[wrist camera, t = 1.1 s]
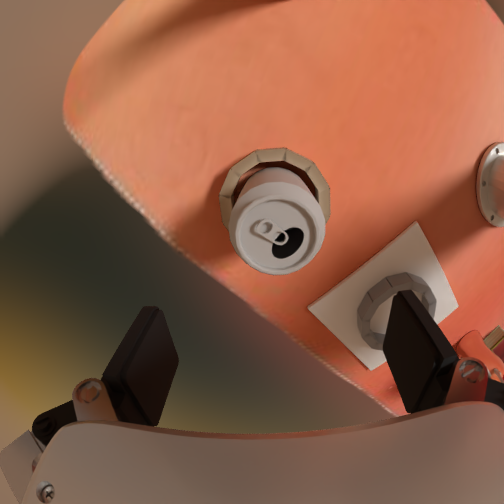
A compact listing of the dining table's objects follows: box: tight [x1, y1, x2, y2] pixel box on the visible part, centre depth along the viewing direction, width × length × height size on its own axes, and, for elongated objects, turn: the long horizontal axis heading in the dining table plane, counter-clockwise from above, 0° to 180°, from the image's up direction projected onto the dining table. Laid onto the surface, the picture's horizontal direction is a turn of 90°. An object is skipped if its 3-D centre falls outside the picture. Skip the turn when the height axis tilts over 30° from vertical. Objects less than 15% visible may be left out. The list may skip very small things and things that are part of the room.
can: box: [228, 167, 325, 275], centre depth 25 cm, size 8×8×12 cm
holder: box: [307, 221, 459, 371], centre depth 34 cm, size 18×18×3 cm
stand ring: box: [219, 148, 330, 231], centre depth 30 cm, size 11×11×2 cm
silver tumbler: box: [456, 330, 504, 383], centre depth 31 cm, size 7×7×15 cm
